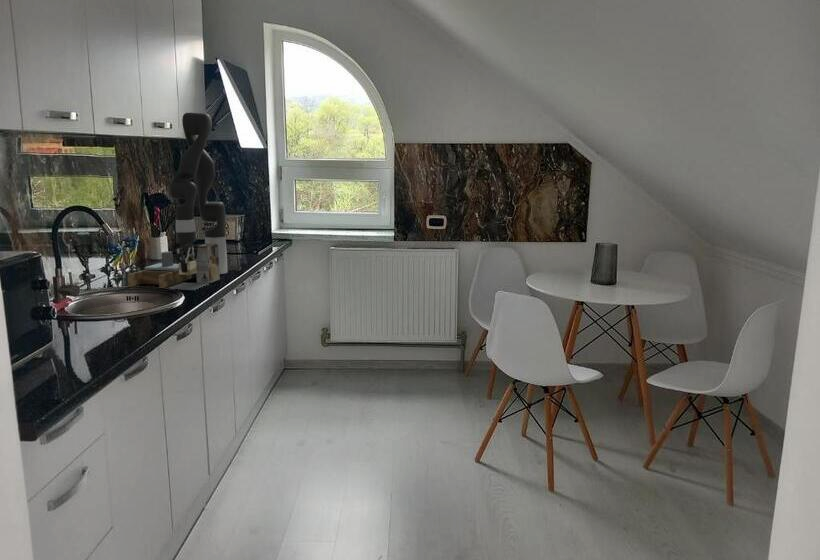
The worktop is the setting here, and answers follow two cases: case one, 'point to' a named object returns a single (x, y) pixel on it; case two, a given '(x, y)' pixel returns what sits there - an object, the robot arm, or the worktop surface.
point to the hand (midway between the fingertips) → (188, 271)
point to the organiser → (157, 278)
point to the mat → (188, 286)
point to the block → (189, 268)
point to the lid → (165, 263)
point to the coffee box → (207, 263)
